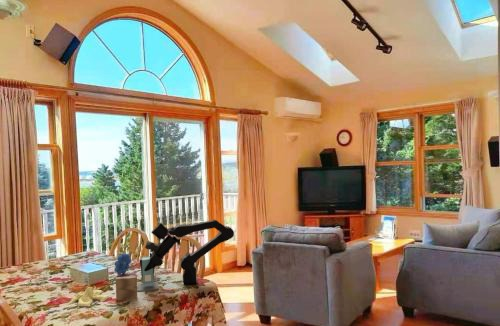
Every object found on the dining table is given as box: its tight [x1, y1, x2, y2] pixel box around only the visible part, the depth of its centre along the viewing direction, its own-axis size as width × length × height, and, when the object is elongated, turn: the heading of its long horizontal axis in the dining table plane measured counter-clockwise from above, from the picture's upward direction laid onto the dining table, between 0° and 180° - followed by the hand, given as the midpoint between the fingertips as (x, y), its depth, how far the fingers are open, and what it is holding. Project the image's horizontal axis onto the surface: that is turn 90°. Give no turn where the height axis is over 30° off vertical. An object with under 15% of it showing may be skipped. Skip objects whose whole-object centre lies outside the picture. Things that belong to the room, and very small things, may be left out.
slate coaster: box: [137, 282, 159, 293], centre depth 196 cm, size 10×10×1 cm
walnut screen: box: [115, 275, 138, 302], centre depth 181 cm, size 9×2×10 cm, turn 95°
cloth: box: [66, 286, 111, 307], centre depth 182 cm, size 22×19×6 cm
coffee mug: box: [138, 255, 155, 278], centre depth 217 cm, size 12×9×10 cm
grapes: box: [113, 252, 132, 276], centre depth 222 cm, size 12×7×12 cm, turn 149°
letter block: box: [141, 256, 154, 284], centre depth 196 cm, size 5×5×12 cm
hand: (144, 269), depth 196 cm, fingers closed on letter block, 5 cm apart
